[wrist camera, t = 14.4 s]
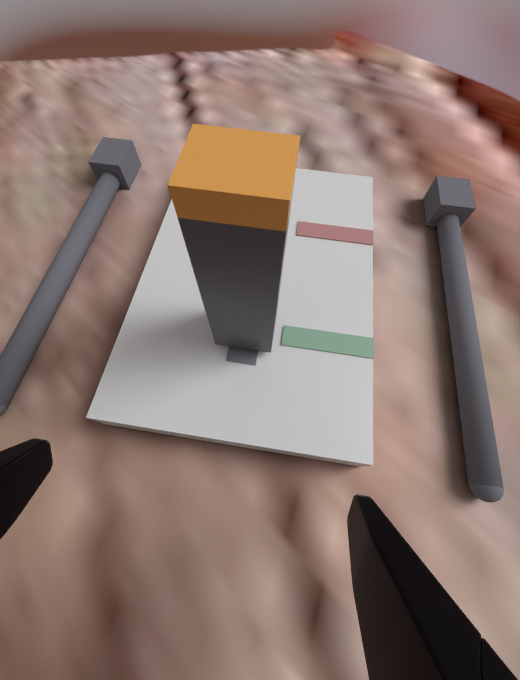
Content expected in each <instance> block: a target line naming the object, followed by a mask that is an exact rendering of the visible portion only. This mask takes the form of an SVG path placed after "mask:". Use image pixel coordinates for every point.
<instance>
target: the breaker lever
mask: <svg viewBox="0 0 520 680" xmlns="http://www.w3.org/2000/svg"><path fill="white" fill-rule="evenodd" d="M299 142H300V136H298V135H289V134H280V133H271V132H262V131H253V130H244V129H235V128H226V127H217V126H208V125H199V124H193V125H192V127H191V130H190V132H189V135H188V137H187V140H186V142H185V144H184V147H183V149H182V152H181V154H180V157H179V159H178V162H177V164H176V166H175V169H174V171H173V174H172V176H171V179H170V181H169V183H168V188H169V191H170V194H171V198H172V201H173V204H174V208H175V211H176V215H177V218H178V221H179V225H180V228H181V231H182V235H183V238H184V241H185V245H186V248H187V251H188V255H189V258H190V261H191V265H192V268H193V271H194V275H195V278H196V281H197V285H198V288H199V291H200V295H201V298H202V301H203V305H204V308H205V311H206V315H207V318H208V322H209V325H210V328H211V332H212V335H213V338H214V342H215V344H216V345H223V346H230V347H236V348H243V349H250V350H256V351H263V352H270V353H271V349H272V342H273V336H274V329H275V322H276V316H277V309H278V301H279V294H280V286H281V278H282V271H283V263H284V256H285V248H286V241H287V233H288V225H289V218H290V210H291V203H292V195H293V187H294V180H295V172H296V165H297V157H298V150H299Z"/></svg>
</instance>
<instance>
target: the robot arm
mask: <svg viewBox="0 0 520 680" xmlns="http://www.w3.org/2000/svg"><path fill="white" fill-rule="evenodd" d="M52 464H53V460H52V453H51V447H50V443H49V442H48V441H47V440H42V439H31V440H28V441H26V442H23V443H21V444H18V445H15V446H13V447H10V448H8V449H5V450H3V451H0V539H1V538H2V537H3V536H4V534H5V533H6V532H7V531H8V529H9V528H10V527H11V526H12V524H13V523H14V522H15V520H16V519H17V518H18V516H19V515H20V513H21V512H22V511H23V509H24V508H25V506H26V505H27V503H28V502H29V500H30V499H31V498H32V496H33V495H34V493H35V492H36V490H37V489H38V487H39V486H40V485H41V483H42V482H43V480H44V479H45V477H46V476H47V474H48V473H49V472H50V470H51V468H52ZM347 525H348V537H349V550H350V562H351V574H352V584H353V591H354V598H355V603H356V609H357V614H358V620H359V625H360V631H361V637H362V642H363V648H364V653H365V659H366V664H367V670H368V675H369V680H518V679H517V678H516V677H515V676H514V674H513V673H512V672H511V671H510V670H509V668H508V667H507V666H506V665H505V664H504V662H503V661H502V660H501V659H500V657H499V656H498V655H497V654H496V652H495V651H494V650H493V649H492V648H491V646H490V645H489V644H488V643H487V641H486V640H485V639H484V638H481V634H480V633H479V632H478V630H477V629H476V628H475V627H474V625H473V624H472V623H471V622H470V620H469V619H468V618H467V617H466V615H465V614H464V613H463V612H462V610H461V609H460V608H459V607H458V605H457V604H456V603H455V602H454V600H453V599H452V598H451V597H450V595H449V594H448V593H447V592H446V590H445V589H444V588H443V587H442V585H441V584H440V583H439V582H438V580H437V579H436V578H435V577H434V575H433V574H432V573H431V572H430V570H429V569H428V568H427V567H426V565H425V564H424V563H423V562H422V560H421V559H420V558H419V557H418V555H417V554H416V553H415V552H414V550H413V549H412V548H411V547H410V545H409V544H408V543H407V542H406V541H405V539H404V538H403V537H402V536H401V534H400V533H399V532H398V531H397V529H396V528H395V527H394V526H393V524H392V523H391V522H390V521H389V519H388V518H387V517H386V516H385V514H384V513H383V512H382V511H381V509H380V508H379V507H378V506H377V504H376V503H375V502H374V501H373V499H372V498H371V497H369V496H365V495H359V494H356V495H355V496H354V497H353V500H352V504H351V507H350V510H349V514H348V519H347Z"/></svg>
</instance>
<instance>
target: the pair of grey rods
mask: <svg viewBox="0 0 520 680" xmlns="http://www.w3.org/2000/svg"><path fill="white" fill-rule="evenodd" d="M89 164H90V166H91V168H92V170H93V172H94V174H95V175H96V177H97V179H98V182H97V183H96V185H95V187H94V189H93V191H92V192H91V194H90V196H89V198H88V200H87V201H86V203H85V205H84V207H83V209H82V210H81V212H80V214H79V216H78V218H77V219H76V221H75V223H74V225H73V227H72V228H71V230H70V232H69V234H68V236H67V237H66V239H65V241H64V243H63V245H62V246H61V248H60V250H59V252H58V253H57V255H56V257H55V259H54V261H53V262H52V264H51V266H50V268H49V270H48V271H47V273H46V275H45V277H44V279H43V280H42V282H41V284H40V286H39V288H38V289H37V291H36V293H35V295H34V297H33V298H32V300H31V302H30V304H29V306H28V307H27V309H26V311H25V313H24V315H23V316H22V318H21V320H20V322H19V324H18V325H17V327H16V329H15V331H14V333H13V334H12V336H11V338H10V340H9V342H8V343H7V345H6V347H5V349H4V351H3V352H2V354H1V356H0V415H1V414H2V413H4V412H5V411H6V409H7V408H8V406H9V404H10V402H11V400H12V398H13V396H14V394H15V392H16V390H17V388H18V386H19V384H20V382H21V380H22V378H23V376H24V374H25V372H26V370H27V368H28V366H29V364H30V362H31V360H32V358H33V356H34V354H35V352H36V350H37V348H38V346H39V345H40V343H41V341H42V339H43V337H44V335H45V333H46V331H47V329H48V327H49V325H50V323H51V321H52V319H53V317H54V315H55V313H56V311H57V309H58V307H59V305H60V303H61V301H62V299H63V297H64V295H65V293H66V291H67V289H68V287H69V285H70V283H71V281H72V279H73V277H74V275H75V273H76V271H77V269H78V268H79V266H80V264H81V262H82V260H83V258H84V256H85V254H86V252H87V250H88V248H89V246H90V244H91V242H92V240H93V238H94V236H95V234H96V232H97V230H98V228H99V226H100V224H101V222H102V220H103V218H104V216H105V214H106V212H107V210H108V208H109V206H110V204H111V202H112V200H113V198H114V196H115V194H116V193H117V191H118V189H119V188H125V189H130V187H131V185H132V183H133V180H134V178H135V176H136V174H137V172H138V170H139V168H140V166H141V163H140V160H139V157H138V155H137V152H136V149H135V146H134V144H133V141H131V140H122V139H114V138H105V137H103V138H102V140H101V142H100V143H99V145H98V147H97V148H96V150H95V152H94V153H93V155H92V157H91V158H90V160H89ZM423 200H424V210H425V219H426V226H432V227H437V231H438V239H439V247H440V256H441V264H442V272H443V280H444V288H445V296H446V305H447V313H448V321H449V329H450V337H451V345H452V354H453V362H454V370H455V378H456V386H457V394H458V403H459V411H460V419H461V427H462V435H463V443H464V452H465V460H466V468H467V476H468V484H469V488H470V490H471V492H472V493H473V494H474V495H475V496H476V497H477V498H478V499H480V500H482V501H485V502H496V501H498V500H500V499H501V498H502V496H503V493H504V488H503V482H502V476H501V470H500V464H499V458H498V452H497V446H496V440H495V434H494V428H493V422H492V416H491V410H490V404H489V398H488V392H487V386H486V380H485V374H484V368H483V362H482V356H481V350H480V344H479V338H478V332H477V325H476V319H475V313H474V307H473V301H472V295H471V289H470V283H469V277H468V271H467V265H466V259H465V253H464V247H463V241H462V235H461V229H460V227H461V226H462V224H463V223H464V222H465V221H466V220H467V218H468V217H469V216H470V215H471V213H472V212H473V211H474V210H475V209H476V208H475V203H474V198H473V193H472V188H471V183H470V180H469V179H460V178H451V177H443V176H437V177H436V178H435V180H434V182H433V183H432V185H431V187H430V188H429V190H428V192H427V193H426V195H425V197H424V198H423Z"/></svg>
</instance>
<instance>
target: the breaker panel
mask: <svg viewBox="0 0 520 680" xmlns="http://www.w3.org/2000/svg"><path fill="white" fill-rule="evenodd" d="M373 358H374V348H373V210H372V177H366V176H357V175H349V174H340V173H332V172H323V171H315V170H306V169H298V168H296V172H295V180H294V187H293V195H292V203H291V210H290V218H289V225H288V233H287V241H286V248H285V256H284V263H283V271H282V278H281V286H280V294H279V301H278V309H277V316H276V322H275V329H274V336H273V342H272V349H271V353H270V352H263V351H256V350H250V349H243V348H236V347H230V346H223V345H216V344H215V342H214V338H213V335H212V332H211V328H210V325H209V322H208V318H207V315H206V311H205V308H204V305H203V301H202V298H201V295H200V291H199V288H198V285H197V281H196V278H195V275H194V271H193V268H192V265H191V261H190V258H189V255H188V251H187V248H186V245H185V241H184V238H183V235H182V231H181V228H180V225H179V221H178V218H177V215H176V211H175V208H174V204H173V201H172V199H171V202H170V204H169V207H168V210H167V212H166V215H165V217H164V220H163V222H162V225H161V227H160V230H159V232H158V235H157V238H156V240H155V243H154V245H153V248H152V250H151V253H150V255H149V258H148V261H147V263H146V266H145V268H144V271H143V273H142V276H141V278H140V281H139V284H138V286H137V289H136V291H135V294H134V296H133V299H132V301H131V304H130V306H129V309H128V312H127V314H126V317H125V319H124V322H123V324H122V327H121V329H120V332H119V335H118V337H117V340H116V342H115V345H114V347H113V350H112V352H111V355H110V357H109V360H108V363H107V365H106V368H105V370H104V373H103V375H102V378H101V380H100V383H99V386H98V388H97V391H96V393H95V396H94V398H93V401H92V403H91V406H90V409H89V411H88V414H87V416H86V418H88V419H91V420H94V421H97V422H99V423H102V424H106V425H112V426H118V427H124V428H130V429H136V430H142V431H148V432H154V433H160V434H166V435H172V436H178V437H184V438H190V439H196V440H202V441H208V442H214V443H220V444H226V445H232V446H238V447H244V448H250V449H256V450H262V451H268V452H274V453H280V454H286V455H292V456H298V457H304V458H311V459H317V460H323V461H329V462H335V463H341V464H347V465H353V466H359V467H361V466H371V465H373Z"/></svg>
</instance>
